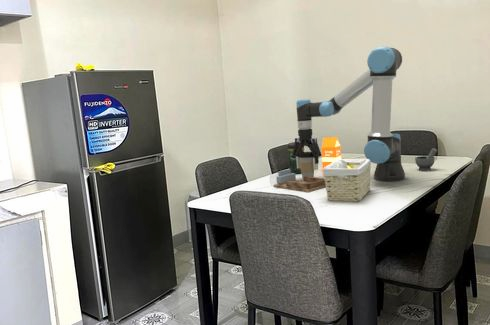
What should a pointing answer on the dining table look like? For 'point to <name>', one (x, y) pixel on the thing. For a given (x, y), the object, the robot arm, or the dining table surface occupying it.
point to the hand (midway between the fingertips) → (307, 168)
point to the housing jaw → (285, 176)
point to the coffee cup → (306, 164)
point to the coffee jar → (293, 159)
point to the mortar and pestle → (426, 161)
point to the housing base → (303, 184)
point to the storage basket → (347, 179)
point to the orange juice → (330, 150)
